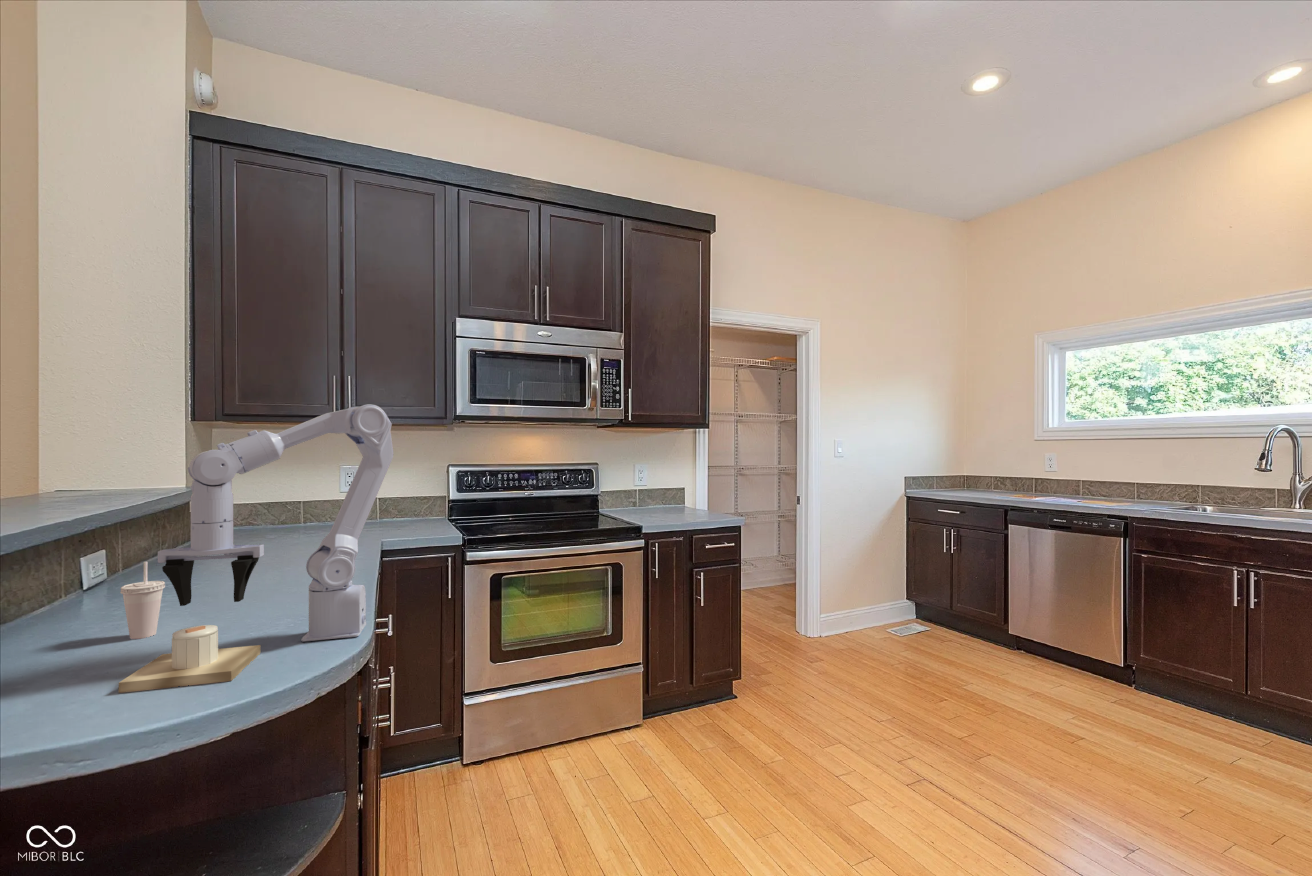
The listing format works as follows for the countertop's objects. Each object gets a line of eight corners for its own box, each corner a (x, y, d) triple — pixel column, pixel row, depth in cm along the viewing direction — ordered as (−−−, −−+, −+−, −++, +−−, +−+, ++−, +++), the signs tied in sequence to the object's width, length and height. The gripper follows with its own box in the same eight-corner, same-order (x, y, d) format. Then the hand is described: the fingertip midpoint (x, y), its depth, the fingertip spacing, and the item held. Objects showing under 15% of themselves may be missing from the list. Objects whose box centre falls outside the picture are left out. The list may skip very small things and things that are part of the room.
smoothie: (138, 642, 106) (138, 565, 106) (110, 640, 107) (110, 564, 107) (174, 631, 112) (174, 558, 112) (147, 629, 113) (147, 557, 113)
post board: (260, 654, 99) (260, 624, 99) (231, 682, 88) (231, 647, 88) (162, 664, 95) (162, 632, 95) (118, 694, 84) (118, 658, 84)
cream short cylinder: (206, 653, 95) (206, 620, 95) (224, 659, 93) (224, 625, 93) (165, 665, 90) (165, 630, 91) (182, 671, 88) (182, 635, 88)
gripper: (270, 516, 103) (270, 592, 103) (173, 520, 99) (173, 599, 99) (255, 521, 97) (255, 603, 97) (150, 526, 93) (150, 611, 92)
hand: (212, 602), depth 97 cm, fingers open, 7 cm apart
